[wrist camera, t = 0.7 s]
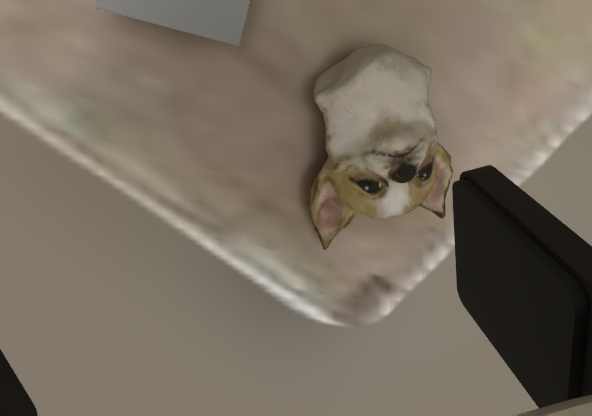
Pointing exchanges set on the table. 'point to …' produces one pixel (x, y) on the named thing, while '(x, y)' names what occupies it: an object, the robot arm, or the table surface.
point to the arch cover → (188, 15)
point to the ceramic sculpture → (377, 142)
